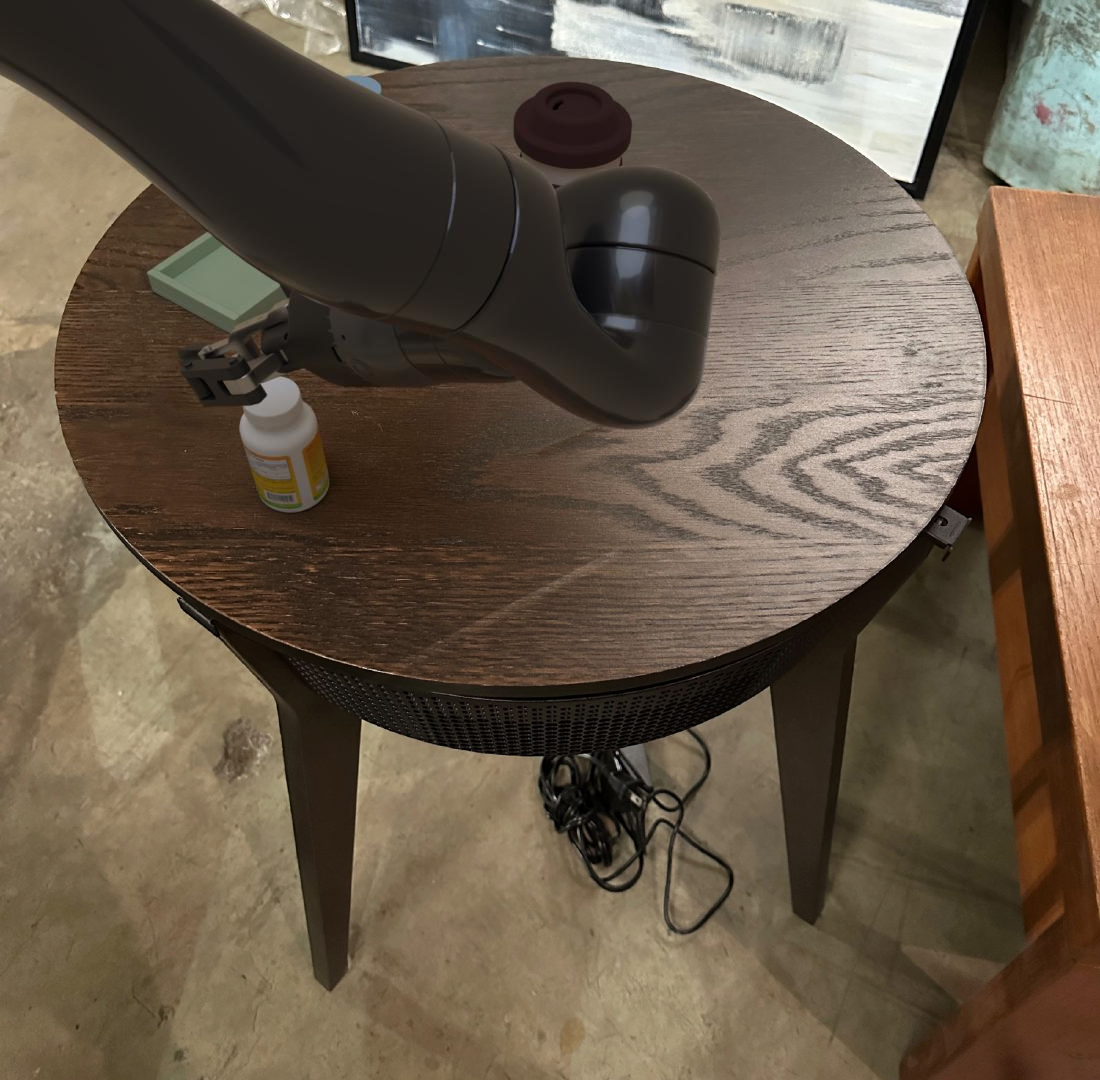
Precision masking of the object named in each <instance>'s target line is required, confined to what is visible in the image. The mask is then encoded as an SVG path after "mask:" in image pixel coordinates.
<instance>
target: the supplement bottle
mask: <svg viewBox="0 0 1100 1080" xmlns="http://www.w3.org/2000/svg"><path fill="white" fill-rule="evenodd" d="M261 385H262V387H263V388H264V390H265V392H266V393H267V396H266V398H265V399H264V400H263V401H262V402H261V403H259V404H255V405H252V406H242V409H243V414H242V415H241V418H240V421H239V425H238V426H239V428H238V429H239V435H240V440H241V442H242V445H243V449H244V451H245V454H246V458H247V461H248V464H249V468H250V470H251V474H252V476H253V480H254V484H255V487H256V490H257V493H258V495H259V498H260V500H261V501H262V502H263V503H264V505H266V506H267V507H268V508H270V509H272V510H275V511H278V512H280V513H290V514H291V513H299V512H303V511H306V510H309V509H311V508H312V507H314V506H316V505H318V503H319V502H321V501H322V500H323V499H324V498H325V496H326V495H327V492H328V490H329V488H330V475H329V469H328V465H327V461H326V457H325V452H324V448H323V442H322V438H321V437H322V436H321V433H320V428H319V425H318V421H317V417H316V413H315V412H314V410H313V408H312V407H311V406H310V405H309V404H308V403H307V402H305V401H304V400H303V397H302V393H301V389H300V388H299V386H298V385H297V383H296V382H295V381H293V380H292V379H290V378H287V377H285V376H280V377H277V378H275V379H272V380H270V381H267V382H265V383H261Z"/></svg>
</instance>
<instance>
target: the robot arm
mask: <svg viewBox="0 0 1100 1080" xmlns="http://www.w3.org/2000/svg"><path fill="white" fill-rule="evenodd" d="M0 76H1V77H3V78H5V79H7V80H9V81H10V82H12V83H14V84H16V85H18V86H19V87H21V88H23V89H24V90H26V91H28V92H29V93H30V94H33V95H35V96H36V97H38V98H39V99H41V100H43V102H46V103H47V104H49V106H51V107H53V108H54V109H55V110H57V111H59V112H60V113H61V114H63V115H64V116H65V117H67V118H68V119H70V120H71V121H72V122H74V123H75V124H77V126H79V127H81V128H82V129H84V130H85V131H86V132H88V133H89V134H90V135H92V136H93V137H95V138H96V139H98V141H100V142H101V143H103V145H105V146H106V147H107V148H109V150H111V151H112V152H113V153H115V154H116V155H117V156H119V157H120V158H121V159H122V160H123V161H124V162H126V163H127V164H129V166H131V167H132V168H133V169H134V170H136V171H137V172H138V173H140V174H141V175H142V176H143V177H144V178H145V179H147V180H148V181H149V182H150V183H151V184H152V185H153V186H154V187H156V188H157V189H158V190H159V191H160V192H162V193H163V194H164V195H165V197H167V198H168V199H169V200H170V201H172V203H174V204H175V205H176V206H177V207H178V208H179V209H181V210H182V211H183V212H184V213H185V214H186V215H187V216H188V217H190V218H191V220H193V221H194V222H195V223H197V224H198V225H199V226H200V227H201V228H202V229H203V230H205V231H206V232H208V233H210V234H211V235H212V236H213V237H214V238H216V239H217V240H218V241H219V242H220V243H221V244H223V245H224V246H225V247H226V248H228V249H229V250H230V251H231V252H233V253H234V254H235V255H237V256H238V257H239V258H241V259H242V260H243V261H245V262H246V263H248V264H249V265H251V266H252V267H254V268H255V269H257V270H258V271H260V272H261V273H262V274H264V275H266V276H267V277H269V278H270V279H272V280H274V281H275V282H277V283H279V285H280V287H281V288H282V290H283V292H284V293H285V295H286V297H287V299H286V300H283V301H281V302H279V303H276V304H275V305H274V306H273V307H272V309H271V310H270V311H268V312H266V313H264V314H261V315H259V316H256V317H254V318H252V319H249V320H247V321H244V322H242V323H239V324H237V325H236V326H235V327H234V329H233V330H232V332H231V333H228V336H227V337H226V338H224V339H221V340H219V341H216V342H209V343H188V344H186V345H185V346H183V347H181V348H180V349H179V350H178V351H177V354H178V356H179V359H178V360H177V362H178V364H179V365H180V366H181V368H179V373H180V374H181V376H182V378H183V379H185V381H186V382H187V384H188V385H189V386H190V388H191V389H192V391H193V392H194V394H195V396H196V397H197V398H198V401H199V403H200V404H201V406H202V407H203V408H217V407H218V408H221V407H222V408H223V407H243V406H252V405H255V404H259V403H261V402H262V401H263V400H264V399H265V398H266V396H267V393H266V392H265V390H264V388H263V387H262V385H261V383H265V382H267V381H270V380H272V379H275V378H277V377H280V376H281V377H283V376H285V375H287V374H290V373H293V372H295V371H300V372H306V371H307V372H310V373H311V374H313V375H315V376H317V377H318V378H320V379H322V380H323V381H326V382H328V383H330V384H332V385H335V386H338V387H344V388H346V387H347V388H408V389H409V388H411V389H412V388H414V389H418V388H428V387H437V386H440V385H444V384H511V383H517V382H522V383H523V384H524V385H526V386H527V387H529V388H530V389H531V390H532V391H534V392H535V393H537V394H538V395H540V396H541V397H543V398H544V399H546V400H547V401H548V402H551V403H552V404H554V405H556V407H557V406H558V407H559V408H561V409H563V410H564V411H565V412H568V413H570V414H571V415H573V416H575V417H577V418H579V419H583V420H585V421H586V422H589V423H593V424H595V425H599V426H603V427H606V428H611V429H615V430H617V429H618V430H629V431H630V430H631V431H632V430H633V431H635V430H636V431H637V430H646V429H650V428H654V427H657V426H660V425H664V424H665V423H667V422H669V421H671V420H673V419H675V418H676V417H678V416H679V415H681V413H683V412H684V411H685V410H686V409H687V408H688V407H689V406H690V405H691V404H692V402H693V401H694V400H695V398H696V396H697V394H698V393H699V390H700V388H701V384H702V381H703V378H704V373H705V368H706V359H707V352H708V344H709V342H708V341H709V338H710V337H709V336H710V328H711V322H712V315H713V314H712V313H713V307H714V306H713V305H714V299H715V291H716V284H717V277H718V271H719V265H720V258H721V257H720V256H721V250H722V249H721V247H722V239H723V235H722V233H723V232H722V221H721V216H720V212H719V209H718V207H717V205H716V203H715V202H714V200H713V198H712V196H711V195H709V193H708V192H707V191H706V190H705V189H704V188H703V187H702V186H701V185H700V184H698V183H697V182H696V181H695V180H693V179H692V178H690V177H688V176H686V175H684V174H682V173H680V172H678V171H676V170H673V169H669V168H666V167H661V166H656V165H649V164H631V165H622V166H618V167H613V168H608V169H603V170H599V171H595V172H593V173H590V174H587V175H584V176H581V177H579V178H576V179H574V180H572V181H570V182H568V183H566V184H564V185H562V186H560V187H559V188H557V189H554V187H553V185H552V184H551V182H550V181H549V179H548V178H547V177H546V176H545V175H544V174H543V173H542V172H541V171H540V170H539V169H538V168H537V167H535V166H534V165H533V164H531V163H529V162H528V161H526V160H524V159H523V158H521V157H520V155H517V154H515V153H513V152H511V151H509V150H507V149H504V148H503V147H501V146H498V145H496V144H493V143H491V142H488V141H486V140H484V139H482V138H480V137H477V136H476V135H473V134H471V133H469V132H467V131H464V130H462V129H460V128H457V127H455V126H453V125H451V124H448V123H446V122H444V121H442V120H439V119H437V118H435V117H433V116H430V115H428V114H426V113H424V112H421V111H419V110H417V109H414V108H412V107H410V106H408V105H406V104H403V103H401V102H398V101H397V100H394V99H391V98H390V97H387V96H384V95H383V94H382V95H380V94H378V93H376V92H374V91H372V90H370V89H368V88H366V87H364V86H362V85H360V84H358V83H356V82H354V81H352V80H349V79H347V78H345V77H344V75H342V74H340V73H337V72H335V71H334V70H331V69H329V68H327V67H326V66H324V65H322V64H320V63H318V62H316V61H314V60H312V59H310V58H308V57H307V56H305V55H303V54H301V53H299V52H297V51H295V50H294V49H292V48H290V47H289V46H287V45H286V44H284V43H283V42H281V41H279V40H277V39H276V38H274V37H272V36H271V35H269V34H267V33H266V32H264V31H262V30H261V29H260V28H258V27H255V26H254V25H252V24H251V23H249V22H248V21H246V20H245V19H243V18H241V17H240V16H238V15H236V14H235V13H233V12H232V11H230V10H229V9H227V8H225V7H223V6H222V5H220V4H219V3H217V2H216V1H214V0H0ZM260 331H261V333H260V335H261V336H260V348H259V347H258V345H257V344H256V342H255V341H254V339H253V337H252V335H254V334H256V333H258V332H260ZM229 352H234V354H232V355H231V356H230V357H227V356H226V355H225V354H228V353H229Z"/></svg>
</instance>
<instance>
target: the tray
mask: <svg viewBox="0 0 1100 1080" xmlns="http://www.w3.org/2000/svg"><path fill="white" fill-rule="evenodd" d="M146 275H147V279H148V281H149V284H150V286H151V289H152V290H151V291H152V293H155V294H157V295H159V296H160V297H162V298H165V300H168V301H169V302H171V303H173V304H175V305H177V306H179V307H180V308H182V309H184V310H186V311H187V312H190V313H192V314H194V315H195V316H197V317H199V318H200V319H202V320H204V321H206V322H208V323H210V324H211V325H213V326H215V327H217V328H219V329H221V330H222V331H224V332H226V333H228V334H230V333H231V332H232V330H233V329H234V327H235V326H236V325H237V324H239V323H242V322H244V321H247V320H249V319H252V318H254V317H256V316H259V315H261V314H264V313H266V312H268V311H270V310H271V309H272V307H273V306H274V305H275V304H276V303H279V302H281V301H283V300H286V299H287V297H286V295H285V293H284V292H283V290H282V288H281V287H280V285H279V283H277V282H275V281H274V280H272V279H270V278H269V277H267V276H266V275H264V274H262V273H261V272H260V271H258V270H257V269H255V268H254V267H252V266H251V265H249V264H248V263H246V262H245V261H243V260H242V259H241V258H239V257H238V256H237V255H235V254H234V253H233V252H231V251H230V250H229V249H228V248H226V247H225V246H224V245H223V244H221V243H220V242H219V241H218V240H217V239H216V238H214V237H213V236H212V235H211V234H210V233H208V232H207V231H206V232H204V233H203V234H202V235H200V236H199V237H197V238H196V239H195V240H193V241H191V242H190V243H188V244H187V245H185V246H184V247H183V248H181V249H179V250H178V251H177V252H175V253H173V254H171V256H169V257H167V258H166V259H164V260H163V261H161V262H159V263H158V264H157V265H155V266H154V267H153V268H151V269H149V270H148V271H147V272H146Z"/></svg>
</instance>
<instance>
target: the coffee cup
mask: <svg viewBox="0 0 1100 1080" xmlns="http://www.w3.org/2000/svg"><path fill="white" fill-rule="evenodd" d="M632 130H633V121H632V118H631V115H630V113H629V112H628V110H627V109H626V108H625V107H624V106H623V105H622V104H621V103H620V102H618V101H616V100H615V99H614V98H613V97H612V95H611V94H610V93H609V92H607V91H606V90H605V89H603V88H601V87H599V86H597V85H594V84H591V83H587V82H582V81H561V82H556V83H552V84H549V85H546V86H545V87H543V88H541V89H539V90H538V91H537V92H536V93H535V95H533V96H531V97H530V98H527V99H526V100H525V101H523V102H522V103H521V104H520V105H519V106H518V107H517V109H516V110H515V113H514V115H513V139H514V143H515V145H516V146H517V148H518V149H519V150H520V153H519V157H521V158H523V159H524V160H526V161H528V162H529V163H531V164H533V165H534V166H535V167H537V168H538V169H539V170H540V171H541V172H542V173H543V174H544V175H545V176H546V177H547V178H548V179H549V181H550V182H551V184H552V185H553V187H554V189H557V188H559V187H560V186H562V185H564V184H566V183H568V182H570V181H572V180H574V179H576V178H579V177H581V176H584V175H587V174H590V173H593V172H595V171H599V170H603V169H608V168H613V167H618V166H623V154H625V152H627V150H628V148H629V147H630V144H631V141H632Z"/></svg>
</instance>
